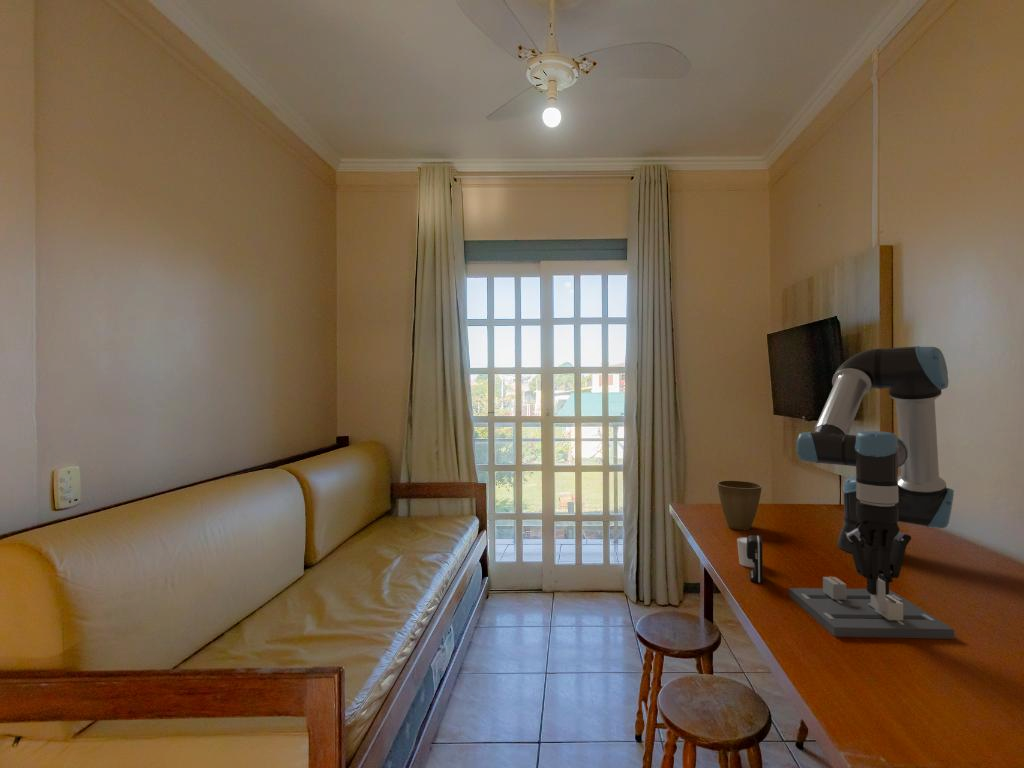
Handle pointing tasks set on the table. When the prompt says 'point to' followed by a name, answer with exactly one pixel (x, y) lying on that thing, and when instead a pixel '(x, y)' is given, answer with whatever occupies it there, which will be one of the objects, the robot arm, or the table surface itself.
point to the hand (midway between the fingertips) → (878, 608)
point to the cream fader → (892, 609)
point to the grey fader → (834, 588)
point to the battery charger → (755, 557)
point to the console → (867, 616)
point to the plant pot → (739, 502)
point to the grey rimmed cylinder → (743, 552)
